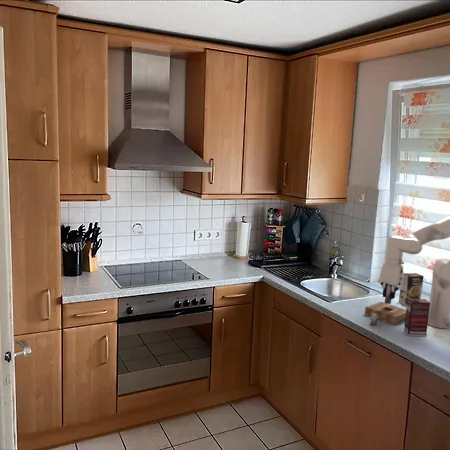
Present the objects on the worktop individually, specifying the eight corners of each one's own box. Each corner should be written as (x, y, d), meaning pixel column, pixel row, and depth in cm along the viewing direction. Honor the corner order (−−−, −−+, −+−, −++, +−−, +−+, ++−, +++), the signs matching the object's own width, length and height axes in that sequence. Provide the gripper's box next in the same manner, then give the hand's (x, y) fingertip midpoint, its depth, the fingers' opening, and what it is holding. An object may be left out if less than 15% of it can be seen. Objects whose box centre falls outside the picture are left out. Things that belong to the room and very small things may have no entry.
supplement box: (421, 332, 212) (426, 298, 209) (426, 336, 207) (431, 302, 204) (402, 331, 212) (407, 298, 209) (407, 336, 207) (411, 301, 204)
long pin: (392, 303, 228) (394, 283, 226) (388, 304, 226) (391, 284, 224) (386, 301, 230) (389, 281, 229) (383, 302, 228) (385, 282, 227)
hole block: (409, 318, 228) (410, 311, 227) (394, 325, 219) (395, 317, 218) (380, 309, 240) (380, 301, 239) (364, 314, 231) (365, 306, 230)
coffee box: (405, 306, 247) (409, 276, 244) (398, 301, 253) (401, 273, 250) (420, 305, 249) (424, 276, 246) (412, 301, 255) (416, 272, 253)
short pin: (378, 324, 218) (379, 314, 217) (374, 326, 216) (375, 316, 215) (372, 322, 220) (373, 312, 219) (368, 324, 218) (370, 314, 218)
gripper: (413, 264, 221) (408, 301, 224) (382, 256, 233) (377, 291, 236) (405, 266, 216) (399, 304, 219) (374, 258, 228) (369, 294, 231)
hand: (388, 297), depth 228 cm, fingers closed on long pin, 3 cm apart
